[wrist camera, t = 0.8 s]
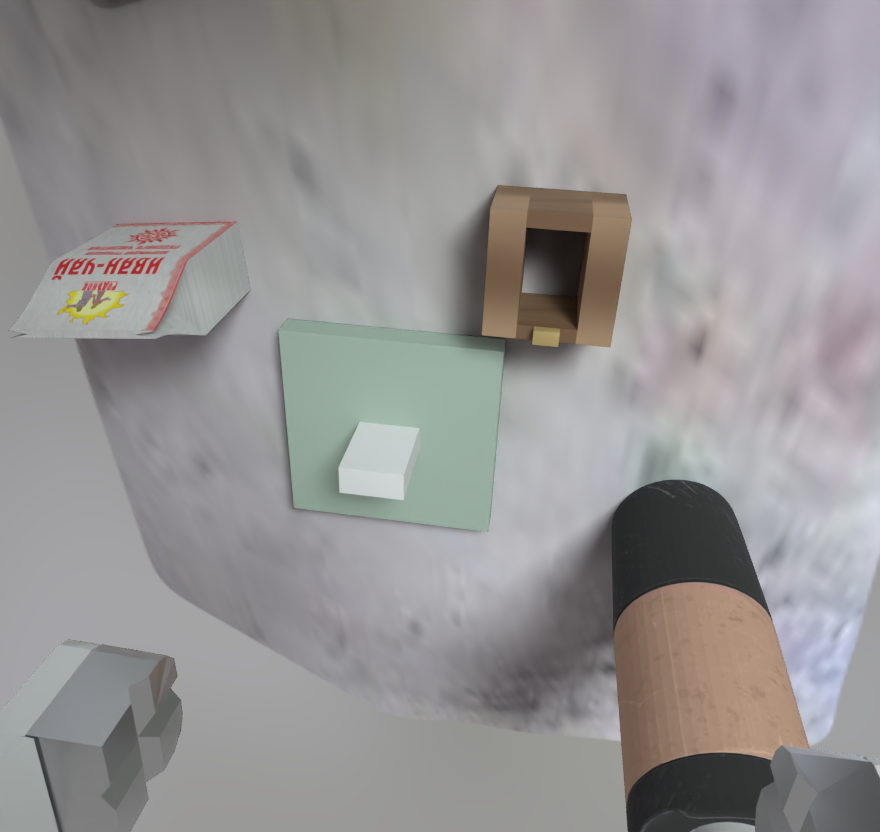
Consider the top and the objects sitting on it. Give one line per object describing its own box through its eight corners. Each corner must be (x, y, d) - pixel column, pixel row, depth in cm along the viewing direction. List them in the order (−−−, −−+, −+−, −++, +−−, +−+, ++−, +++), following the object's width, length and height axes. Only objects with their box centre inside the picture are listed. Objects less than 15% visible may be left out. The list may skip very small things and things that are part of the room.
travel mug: (739, 574, 45) (839, 938, 28) (611, 577, 47) (632, 923, 30) (743, 470, 42) (859, 819, 25) (602, 478, 43) (621, 809, 26)
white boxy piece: (251, 289, 40) (166, 375, 32) (135, 289, 42) (24, 373, 33) (237, 221, 39) (143, 294, 30) (117, 224, 40) (-7, 295, 31)
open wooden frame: (497, 185, 36) (489, 212, 32) (626, 194, 35) (632, 222, 31) (489, 302, 39) (480, 339, 35) (606, 313, 38) (610, 352, 34)
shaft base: (287, 318, 41) (247, 369, 36) (505, 339, 40) (496, 394, 35) (301, 493, 47) (268, 557, 42) (490, 516, 46) (480, 585, 41)
